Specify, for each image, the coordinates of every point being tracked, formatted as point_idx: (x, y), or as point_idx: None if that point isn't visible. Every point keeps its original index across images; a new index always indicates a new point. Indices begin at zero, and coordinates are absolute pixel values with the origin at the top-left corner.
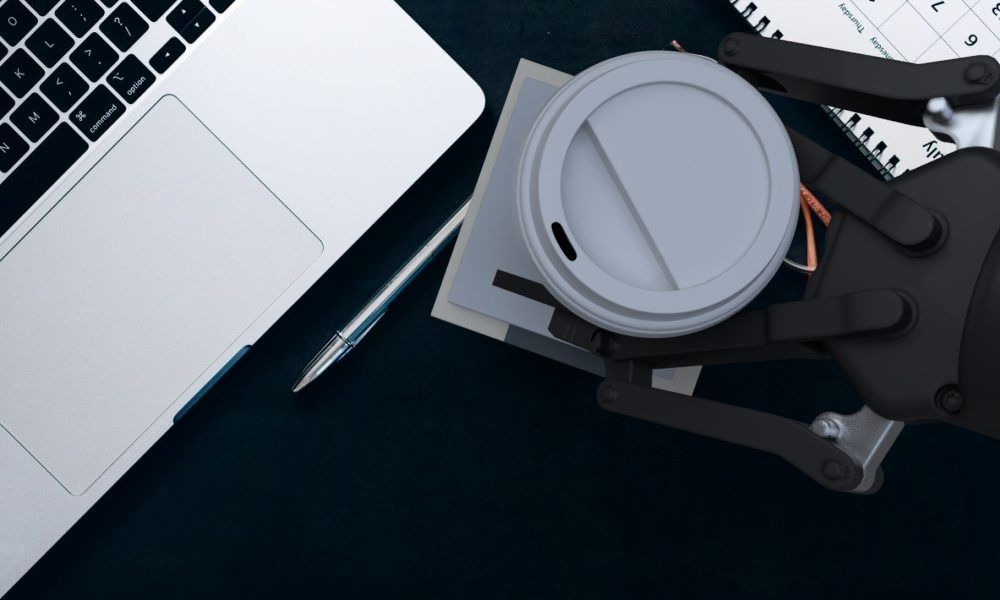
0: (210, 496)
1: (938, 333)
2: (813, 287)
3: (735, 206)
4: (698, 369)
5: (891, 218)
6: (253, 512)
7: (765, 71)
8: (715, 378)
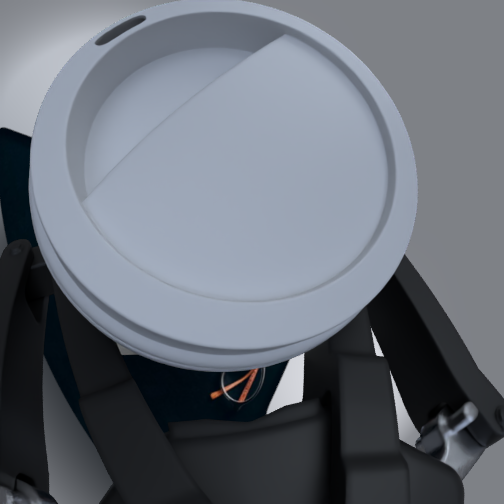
0: (29, 168)
1: None
2: (195, 432)
3: (269, 239)
4: (124, 353)
5: (371, 483)
6: (26, 187)
7: None
8: (154, 371)
